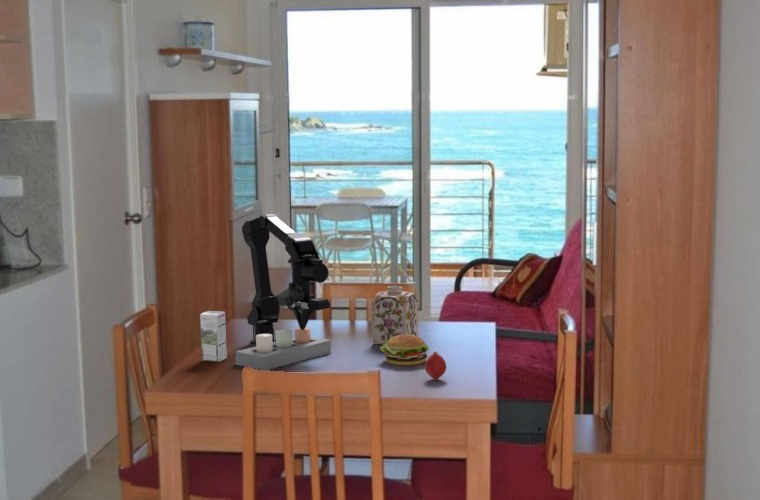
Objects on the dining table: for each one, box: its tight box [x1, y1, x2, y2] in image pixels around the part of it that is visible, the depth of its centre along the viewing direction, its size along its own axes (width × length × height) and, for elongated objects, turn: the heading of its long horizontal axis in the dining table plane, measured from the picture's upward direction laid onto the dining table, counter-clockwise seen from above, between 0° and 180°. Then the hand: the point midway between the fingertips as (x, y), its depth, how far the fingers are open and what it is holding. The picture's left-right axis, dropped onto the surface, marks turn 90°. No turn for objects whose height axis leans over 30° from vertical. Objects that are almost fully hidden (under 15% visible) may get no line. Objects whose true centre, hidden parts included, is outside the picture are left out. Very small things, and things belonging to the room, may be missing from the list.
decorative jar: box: [371, 285, 419, 346], centre depth 327 cm, size 12×12×18 cm
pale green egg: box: [275, 328, 293, 349], centre depth 307 cm, size 5×5×6 cm
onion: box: [424, 351, 447, 381], centre depth 280 cm, size 6×6×8 cm
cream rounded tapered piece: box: [255, 334, 273, 354], centre depth 301 cm, size 5×5×6 cm
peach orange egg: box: [294, 327, 312, 344], centre depth 313 cm, size 5×5×6 cm
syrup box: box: [199, 310, 228, 363], centre depth 307 cm, size 6×6×14 cm
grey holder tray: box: [235, 336, 332, 371], centre depth 307 cm, size 12×28×4 cm, turn 140°
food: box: [379, 334, 430, 367], centre depth 301 cm, size 14×14×8 cm
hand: (302, 329), depth 312 cm, fingers closed, pressing on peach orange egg
